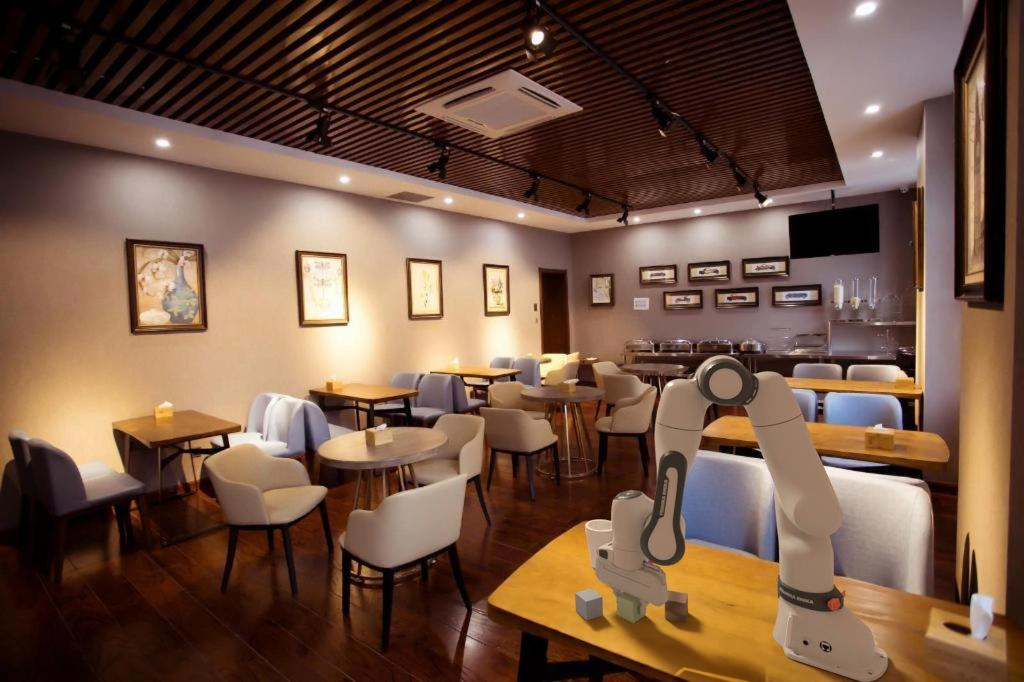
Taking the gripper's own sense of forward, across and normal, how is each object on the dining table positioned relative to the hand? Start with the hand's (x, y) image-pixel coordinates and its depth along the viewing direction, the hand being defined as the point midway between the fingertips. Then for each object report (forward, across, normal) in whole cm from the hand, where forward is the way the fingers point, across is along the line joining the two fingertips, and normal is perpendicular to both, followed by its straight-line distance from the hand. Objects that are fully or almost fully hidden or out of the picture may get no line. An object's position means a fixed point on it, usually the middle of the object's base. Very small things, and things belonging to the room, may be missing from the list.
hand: (631, 608), depth 138 cm
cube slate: (+2, +8, +7) cm, 11 cm away
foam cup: (+2, +22, -15) cm, 27 cm away
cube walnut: (+2, -8, -8) cm, 11 cm away
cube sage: (+2, 0, 0) cm, 2 cm away
